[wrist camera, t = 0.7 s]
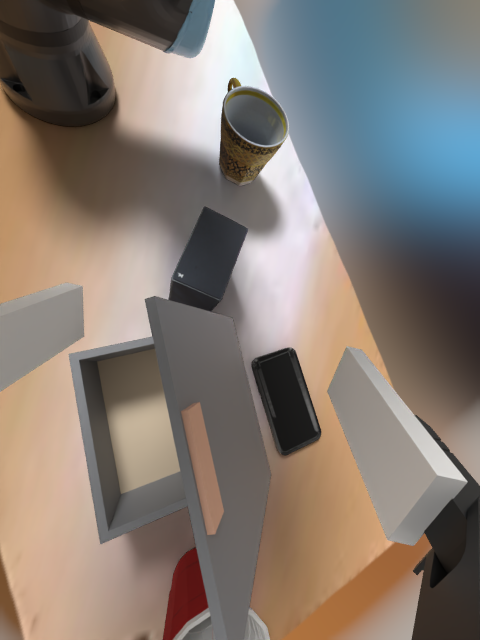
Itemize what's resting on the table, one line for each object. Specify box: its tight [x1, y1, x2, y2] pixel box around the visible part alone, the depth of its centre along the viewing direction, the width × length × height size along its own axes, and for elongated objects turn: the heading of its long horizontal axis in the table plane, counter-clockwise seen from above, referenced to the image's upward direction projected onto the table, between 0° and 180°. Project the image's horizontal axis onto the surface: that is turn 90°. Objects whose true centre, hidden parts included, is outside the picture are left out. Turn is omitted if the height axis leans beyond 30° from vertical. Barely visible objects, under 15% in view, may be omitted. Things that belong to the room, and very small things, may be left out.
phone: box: [252, 348, 321, 455], centre depth 39 cm, size 8×1×15 cm
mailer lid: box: [145, 296, 271, 640], centre depth 21 cm, size 18×17×1 cm
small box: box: [169, 207, 248, 312], centre depth 34 cm, size 11×6×10 cm, turn 160°
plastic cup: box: [163, 548, 270, 640], centre depth 26 cm, size 11×11×12 cm
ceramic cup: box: [219, 78, 289, 186], centre depth 40 cm, size 13×10×10 cm
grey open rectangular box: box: [69, 337, 188, 544], centre depth 30 cm, size 18×17×8 cm
